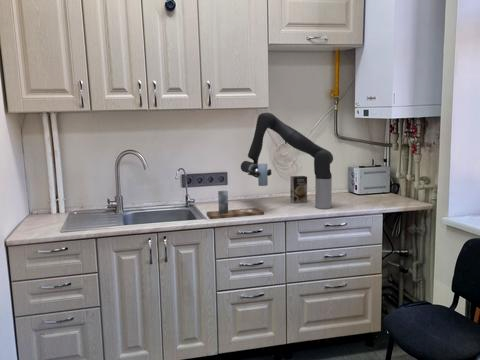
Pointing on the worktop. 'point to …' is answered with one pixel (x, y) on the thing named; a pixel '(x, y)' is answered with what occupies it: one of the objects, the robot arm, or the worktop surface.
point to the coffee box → (298, 189)
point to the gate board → (227, 213)
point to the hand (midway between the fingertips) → (264, 174)
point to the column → (262, 175)
